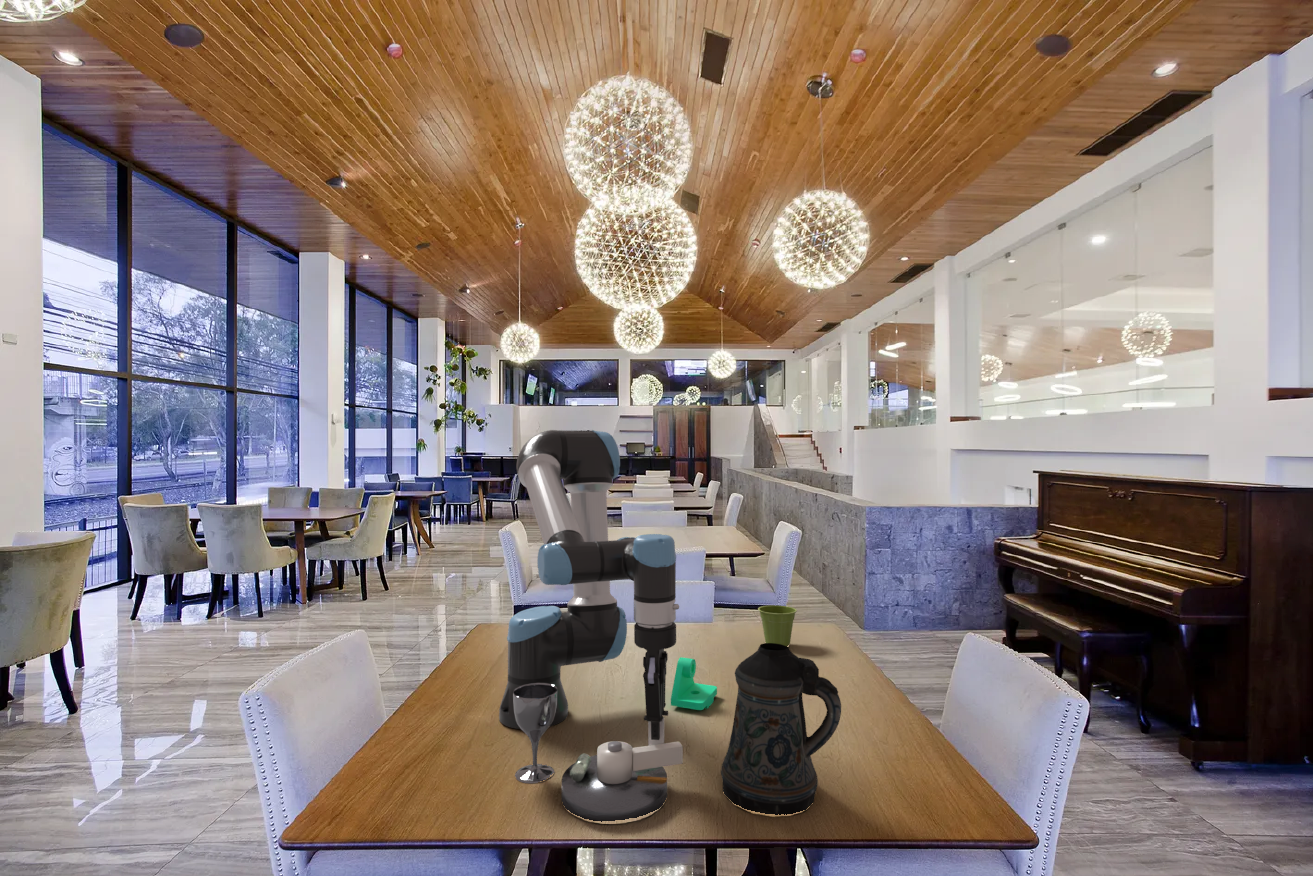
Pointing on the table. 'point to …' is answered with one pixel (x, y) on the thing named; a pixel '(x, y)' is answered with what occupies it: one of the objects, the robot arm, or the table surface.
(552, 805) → the table surface
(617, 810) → the base
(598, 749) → the knob
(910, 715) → the table surface
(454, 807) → the table surface
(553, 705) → the wine glass
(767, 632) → the plant pot
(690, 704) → the camera mount
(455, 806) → the table surface
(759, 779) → the beer stein
